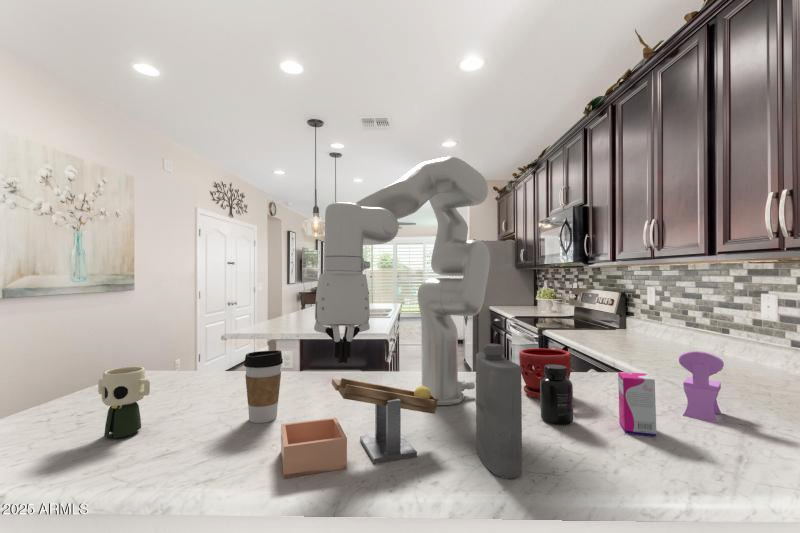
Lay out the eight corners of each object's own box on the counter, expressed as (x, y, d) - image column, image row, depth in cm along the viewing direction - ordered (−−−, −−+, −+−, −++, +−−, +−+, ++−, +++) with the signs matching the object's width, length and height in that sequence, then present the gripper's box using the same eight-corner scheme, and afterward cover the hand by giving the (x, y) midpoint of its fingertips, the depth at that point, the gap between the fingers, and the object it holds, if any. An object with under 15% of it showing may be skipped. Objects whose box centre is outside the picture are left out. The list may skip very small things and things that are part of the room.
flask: (470, 440, 77) (469, 338, 77) (499, 440, 77) (499, 338, 78) (489, 480, 62) (489, 353, 62) (526, 479, 62) (525, 353, 63)
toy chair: (726, 413, 92) (725, 349, 92) (723, 424, 85) (722, 355, 86) (683, 405, 98) (682, 345, 98) (677, 414, 91) (676, 350, 91)
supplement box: (648, 426, 84) (648, 372, 84) (657, 437, 78) (656, 379, 79) (618, 423, 86) (617, 370, 86) (624, 433, 80) (623, 377, 80)
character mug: (82, 440, 77) (84, 373, 77) (112, 426, 84) (113, 365, 84) (135, 442, 76) (136, 375, 76) (160, 428, 83) (161, 366, 83)
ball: (419, 403, 77) (429, 390, 78) (426, 408, 74) (436, 395, 75) (408, 394, 77) (418, 380, 77) (414, 398, 74) (424, 385, 74)
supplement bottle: (573, 417, 89) (573, 364, 89) (573, 428, 83) (572, 371, 83) (541, 413, 92) (541, 362, 92) (538, 423, 86) (538, 368, 86)
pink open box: (336, 443, 75) (336, 417, 75) (346, 468, 66) (346, 438, 66) (280, 451, 72) (281, 424, 72) (283, 478, 62) (283, 446, 62)
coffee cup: (270, 426, 84) (271, 356, 84) (235, 423, 86) (235, 354, 86) (289, 413, 92) (289, 349, 92) (256, 410, 94) (257, 347, 94)
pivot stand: (398, 435, 79) (398, 385, 80) (416, 456, 70) (416, 400, 70) (360, 440, 77) (360, 389, 77) (373, 463, 67) (373, 405, 68)
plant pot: (574, 393, 108) (574, 349, 108) (566, 406, 97) (565, 357, 97) (526, 386, 115) (526, 345, 115) (513, 397, 104) (513, 352, 104)
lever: (414, 399, 83) (418, 385, 84) (434, 415, 74) (437, 399, 74) (331, 384, 78) (334, 369, 78) (340, 399, 68) (344, 382, 69)
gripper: (375, 268, 82) (373, 356, 82) (302, 266, 78) (300, 360, 77) (385, 267, 75) (384, 363, 75) (306, 265, 70) (303, 368, 70)
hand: (341, 361), depth 76 cm, fingers closed
